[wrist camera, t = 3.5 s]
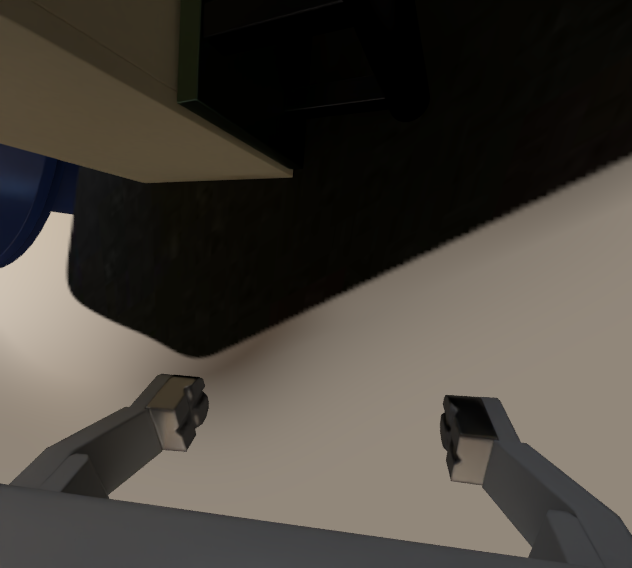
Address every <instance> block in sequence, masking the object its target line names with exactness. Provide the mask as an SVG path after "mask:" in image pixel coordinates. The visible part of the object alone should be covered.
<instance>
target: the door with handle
mask: <svg viewBox="0 0 632 568" xmlns="http://www.w3.org/2000/svg"><path fill="white" fill-rule="evenodd" d="M350 27H354V29H355V32H356V34H357V36H358V38H359V41H360V43H361V45H362V48H363V50H364V52H365V55H366V57H367V59H368V62H369V64H370V66H371V69H372V71H373V73H374V75H368V76H362V77H356V78H349V79H343V80H337V81H331V82H325V83H319V84H312V85H309V74H310V59H311V44H312V36H315V35H319V34H324V33H328V32H333V31H337V30H341V29H346V28H350ZM429 101H430V93H429V86H428V80H427V74H426V68H425V61H424V55H423V49H422V43H421V37H420V30H419V24H418V18H417V12H416V5H415V0H181V4H180V31H179V58H178V85H177V103H178V104H180V105H181V106H183V107H185V108H186V109H188V110H190V111H191V112H193V113H195V114H197V115H198V116H200V117H202V118H203V119H205V120H207V121H208V122H210V123H212V124H213V125H215V126H217V127H219V128H220V129H222V130H224V131H225V132H227V133H229V134H230V135H232V136H234V137H235V138H237V139H239V140H241V141H242V142H244V143H246V144H247V145H249V146H251V147H252V148H254V149H256V150H257V151H259V152H261V153H263V154H264V155H266V156H268V157H269V158H271V159H273V160H274V161H276V162H278V163H279V164H281V165H283V166H285V167H286V168H288V169H303V163H304V148H305V133H306V119H310V118H319V117H327V116H336V115H344V114H353V113H361V112H370V111H379V110H387V109H389V110H390V113H391V115H392V116H393V117H394V118H395V119H396V120H398V121H401V122H410V121H413V120H415V119H417V118H419V117H420V116H421V115H422V114H423V113H424V112H425V110H426V109H427V107H428V105H429Z"/></svg>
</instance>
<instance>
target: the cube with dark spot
mask: <svg viewBox="0 0 632 568" xmlns="http://www.w3.org/2000/svg"><path fill="white" fill-rule="evenodd" d="M180 4H181V0H0V144H4V145H8V146H11V147H15V148H19V149H22V150H26V151H30V152H33V153H37V154H41V155H44V156H48V157H51V158H55V159H59V160H62V161H66V162H70V163H73V164H77V165H81V166H84V167H88V168H92V169H95V170H99V171H103V172H106V173H110V174H114V175H117V176H121V177H124V178H128V179H132V180H135V181H139V182H143V183H156V182H183V181H209V180H236V179H262V178H289V177H293V169H288V168H286V167H285V166H283V165H281V164H279V163H278V162H276V161H274V160H273V159H271V158H269V157H268V156H266V155H264V154H263V153H261V152H259V151H257V150H256V149H254V148H252V147H251V146H249V145H247V144H246V143H244V142H242V141H241V140H239V139H237V138H235V137H234V136H232V135H230V134H229V133H227V132H225V131H224V130H222V129H220V128H219V127H217V126H215V125H213V124H212V123H210V122H208V121H207V120H205V119H203V118H202V117H200V116H198V115H197V114H195V113H193V112H191V111H190V110H188V109H186V108H185V107H183V106H181V105H180V104H178V103H177V85H178V58H179V31H180Z"/></svg>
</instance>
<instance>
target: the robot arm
mask: <svg viewBox="0 0 632 568" xmlns="http://www.w3.org/2000/svg"><path fill="white" fill-rule="evenodd" d="M204 387H205V384H204V381H203V379H202V378H200V377H192V376H182V375H168V374H160V375H158V376H157V377H156V378H155V379H154V380H153V381H152V382H151V383H150V384H149V386H148V387H147V388H146V389H145V390H144V391H143V392H142V394H141V395H140V396H139V397H138V398H137V399H136V401H134V403H133V404H132V405H131V406H130V407H124V408H122V409H120V410H118V411H117V412H115V413H113V414H111V415H109V416H107V417H105V418H103V419H102V420H99V421H97V422H96V423H94V424H92V425H90V426H88V427H86V428H84V429H82V430H80V431H78V432H77V433H75V434H73V435H71V436H69V437H67V438H65V439H63V440H61V441H60V442H58V443H56V444H54V445H52V446H50V447H48V448H46V449H45V450H44V451H43V452H42V453H41V454H40V455H39V456H38V457H37V458H36V459H35V460H34V461H33V462H32V463H31V464H30V465H29V466H28V467H27V468H26V469H25V470H24V471H23V472H21V474H20V475H18V476H17V477H16V478H15V479H14V480H13V481H12V482H11V483H10V484H9V485H6V484H0V568H632V535H631V533H630V532H629V530H628V529H627V527H626V526H625V525H624V523H623V521H622V520H621V518H620V517H619V516H618V515H617V514H616V513H614V512H613V511H612V510H611V509H609V508H608V507H607V506H605V505H604V504H603V503H602V502H600V501H599V500H598V499H597V498H595V497H594V496H593V495H591V494H590V493H589V492H588V491H586V490H585V489H584V488H583V487H581V486H580V485H579V484H577V483H576V482H575V481H574V480H572V479H571V478H570V477H569V476H567V475H566V474H565V473H564V472H562V471H561V470H560V469H559V468H557V467H556V466H554V465H553V464H552V463H551V462H550V461H548V460H547V459H546V458H544V457H543V456H542V455H541V454H539V453H538V452H537V451H536V450H534V449H533V448H532V447H530V446H529V445H528V444H527V443H521V442H520V440H519V438H518V436H517V434H516V432H515V430H514V428H513V426H512V424H511V422H510V420H509V418H508V416H507V414H506V412H505V410H504V408H503V406H502V404H501V402H500V400H499V399H498V398H489V397H468V396H454V395H445V397H444V401H443V406H444V410H445V413H443V414H442V415H441V421H440V434H441V440H442V444H443V447H444V448H445V449H446V450H447V457H446V462H447V466H448V470H449V474H450V478H451V481H454V482H462V483H470V484H476V485H482V487H483V489H484V490H485V491H486V492H487V493H488V494H489V496H490V497H491V498H492V499H493V501H494V502H495V503H496V504H497V505H498V507H499V508H500V509H501V510H502V511H503V513H504V514H505V515H506V516H507V518H508V519H509V520H510V521H511V522H512V524H513V525H514V526H515V527H516V528H517V530H518V531H519V532H520V533H521V534H522V536H523V537H524V538H525V539H526V540H527V541H528V543H529V544H530V545H531V546H532V550H531V552H530V555H529V557H528V558H525V557H517V556H510V555H503V554H497V553H489V552H482V551H475V550H467V549H461V548H454V547H447V546H440V545H433V544H425V543H418V542H411V541H404V540H396V539H390V538H383V537H376V536H368V535H361V534H354V533H347V532H340V531H332V530H325V529H319V528H311V527H304V526H297V525H290V524H283V523H275V522H268V521H261V520H254V519H247V518H239V517H232V516H225V515H218V514H211V513H205V512H198V511H191V510H184V509H177V508H170V507H162V506H155V505H149V504H141V503H134V502H127V501H120V500H113V499H109V497H108V495H109V494H110V493H111V492H112V491H114V490H115V489H116V488H117V487H119V486H120V485H121V484H122V483H123V482H125V481H126V480H127V479H128V478H130V477H131V476H132V475H133V474H135V473H136V472H137V471H138V470H140V469H141V468H142V467H143V466H144V465H146V464H147V463H148V462H149V461H150V460H152V459H153V458H154V457H156V456H157V455H158V454H159V453H161V452H162V450H173V451H184V452H186V451H187V449H188V448H189V446H190V444H191V443H192V441H193V439H194V437H195V436H196V431H195V428H197V427H198V426H200V425H201V424H203V422H204V420H205V418H206V416H207V412H208V408H209V401H208V397H207V395H206V394H205V393H204V392H203V391H202V390H203V389H204Z"/></svg>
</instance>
